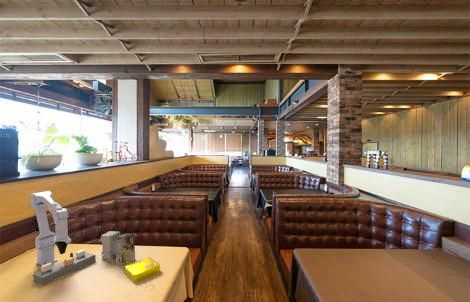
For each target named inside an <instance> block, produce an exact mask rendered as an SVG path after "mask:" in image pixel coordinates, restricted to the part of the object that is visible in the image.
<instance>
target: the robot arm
mask: <svg viewBox="0 0 470 302" xmlns="http://www.w3.org/2000/svg"><path fill="white" fill-rule="evenodd" d="M29 202H30V206H31V208H33V209H34V211H35V215H36V220H37V226H38V229H39V231H38V232H39V235H37V236H36V237H35V239H34V242H35V244H34V246H35V249H36V250H37V252H36V261H37V262H36V261H35V264H36V265H39V266H42V265H43V264H44V263H47V264H48V263H52V264H53V263H54V262H55V263H56V262H57V261H58V260H59V259H57V258H55V247H56V248H57V249H58V252H59V254H60V255H63V254H66V250H67V248H68V244H71V243H72V239H71V238H70V236H69V234H68V233H69V230H68V225H69V224H68V218H69V217H70V211H69V209H68V208H63V207H62V206H61V205H60V204H59V203H58V202H56V201H54V199H53V193H52V192H51V191H50V190H47V191H41V192H33V193H31V194H30V196H29ZM46 206H47V210H48V211H49V212H50V213H51V215H52V220H53V224H54V225H55V226H54V228H55V232H53V231H51V230H50V225H49V220H48V216H47V211H46Z"/></svg>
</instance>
